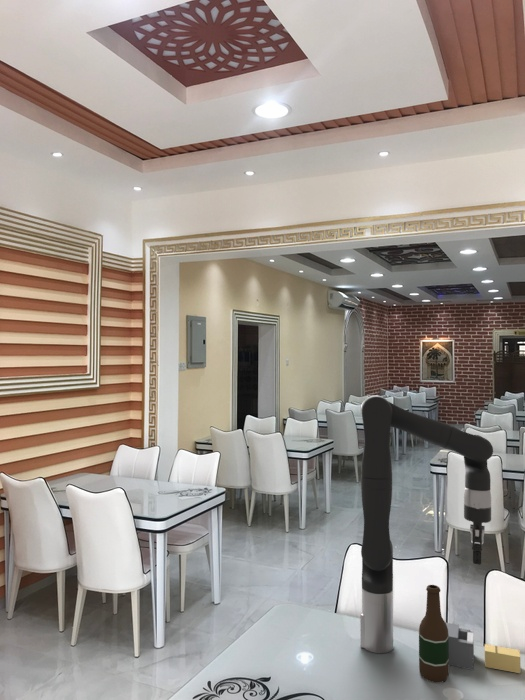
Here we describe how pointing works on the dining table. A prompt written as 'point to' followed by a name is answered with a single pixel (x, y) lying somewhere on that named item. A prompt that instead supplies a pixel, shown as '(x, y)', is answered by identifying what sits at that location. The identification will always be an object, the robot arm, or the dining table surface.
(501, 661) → the yellow rectangular block
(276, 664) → the dining table surface
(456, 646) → the dispenser
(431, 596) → the beer bottle
